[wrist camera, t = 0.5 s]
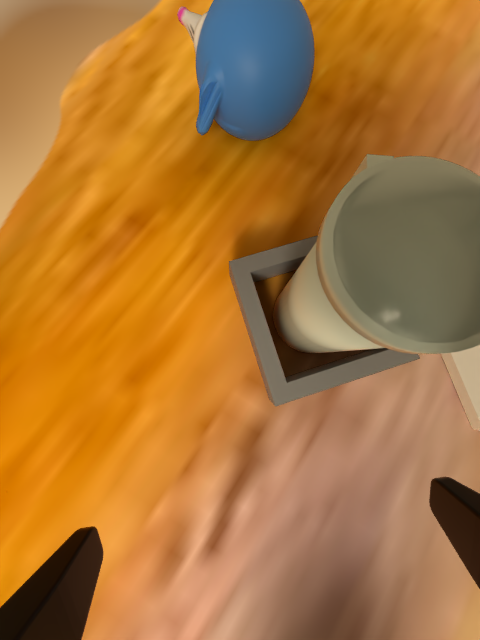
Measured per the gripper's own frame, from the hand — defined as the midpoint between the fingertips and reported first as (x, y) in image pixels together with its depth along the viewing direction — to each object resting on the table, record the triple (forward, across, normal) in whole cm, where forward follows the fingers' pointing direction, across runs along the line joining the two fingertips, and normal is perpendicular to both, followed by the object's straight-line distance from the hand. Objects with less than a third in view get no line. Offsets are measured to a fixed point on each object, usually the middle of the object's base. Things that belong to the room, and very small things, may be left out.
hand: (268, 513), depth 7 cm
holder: (+15, -6, -2) cm, 16 cm away
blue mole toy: (+22, -2, -20) cm, 30 cm away
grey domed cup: (+15, -6, -3) cm, 17 cm away
